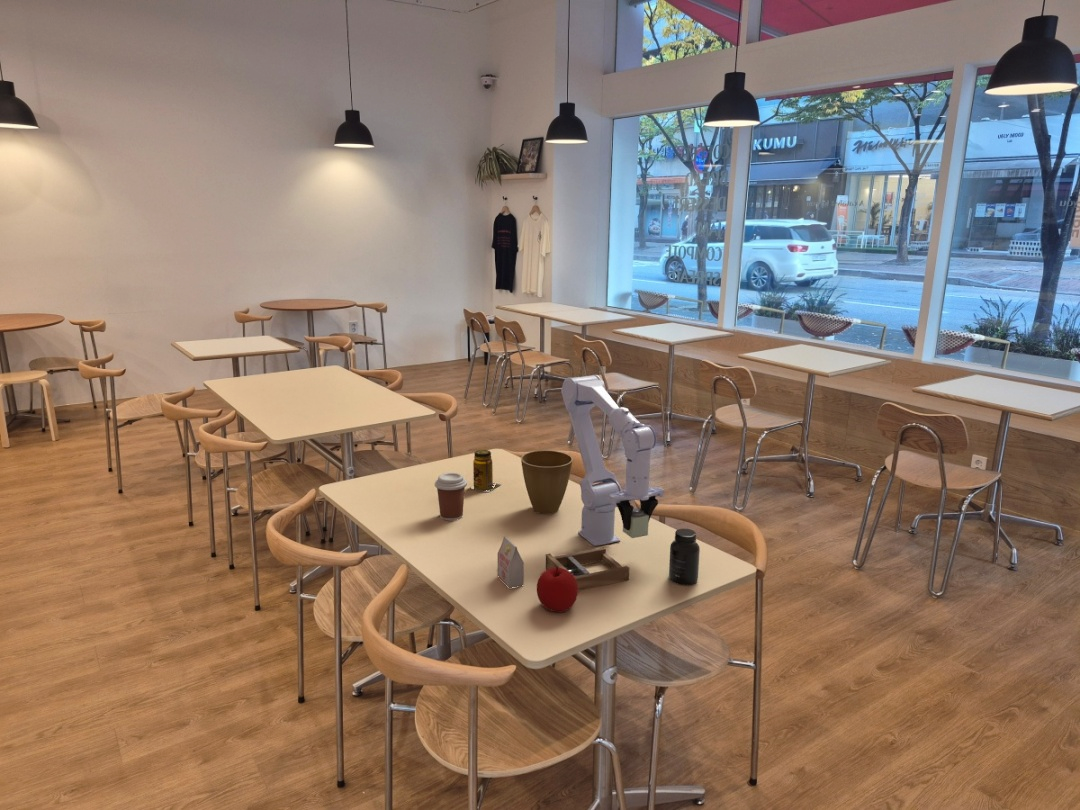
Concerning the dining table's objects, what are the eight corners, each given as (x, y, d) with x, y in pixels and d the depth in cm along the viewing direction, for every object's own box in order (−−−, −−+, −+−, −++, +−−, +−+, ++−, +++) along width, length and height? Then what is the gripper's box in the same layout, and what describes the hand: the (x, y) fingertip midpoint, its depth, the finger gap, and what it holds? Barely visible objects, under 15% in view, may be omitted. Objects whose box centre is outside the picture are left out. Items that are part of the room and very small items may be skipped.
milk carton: (511, 573, 175) (511, 535, 173) (523, 585, 169) (523, 546, 167) (497, 576, 174) (497, 537, 171) (509, 589, 168) (509, 549, 165)
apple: (586, 606, 161) (587, 564, 158) (559, 622, 154) (560, 579, 152) (554, 592, 166) (555, 552, 164) (527, 607, 160) (527, 565, 158)
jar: (622, 531, 183) (623, 508, 182) (638, 528, 185) (639, 506, 184) (632, 538, 179) (633, 515, 178) (647, 535, 181) (648, 512, 180)
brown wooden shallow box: (545, 569, 177) (545, 554, 176) (603, 558, 184) (603, 543, 183) (567, 592, 166) (568, 576, 165) (628, 579, 173) (629, 564, 172)
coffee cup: (451, 525, 203) (451, 484, 200) (428, 517, 208) (427, 477, 205) (474, 515, 210) (473, 475, 207) (451, 507, 215) (450, 469, 213)
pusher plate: (553, 571, 177) (553, 559, 176) (571, 567, 179) (571, 556, 178) (570, 588, 168) (570, 576, 168) (589, 584, 170) (589, 572, 170)
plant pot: (510, 508, 215) (510, 456, 211) (547, 496, 225) (548, 447, 221) (544, 524, 204) (544, 469, 201) (582, 510, 214) (583, 458, 210)
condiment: (468, 489, 231) (467, 452, 228) (482, 481, 238) (482, 445, 235) (487, 493, 228) (487, 456, 225) (501, 484, 235) (501, 449, 232)
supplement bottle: (677, 569, 178) (680, 523, 175) (702, 578, 174) (706, 531, 171) (662, 579, 173) (665, 532, 170) (688, 589, 169) (692, 541, 166)
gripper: (620, 484, 172) (618, 537, 175) (672, 476, 178) (669, 528, 181) (605, 474, 178) (603, 526, 182) (656, 467, 184) (653, 518, 187)
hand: (635, 526), depth 182 cm, fingers closed on jar, 4 cm apart
